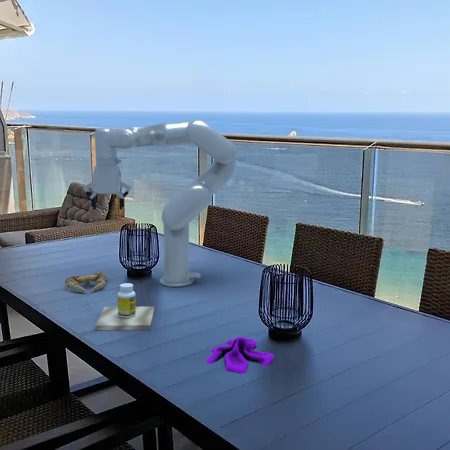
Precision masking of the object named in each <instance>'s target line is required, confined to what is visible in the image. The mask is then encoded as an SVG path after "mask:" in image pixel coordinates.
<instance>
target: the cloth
mask: <svg viewBox="0 0 450 450" xmlns="http://www.w3.org/2000/svg"><path fill="white" fill-rule="evenodd" d="M257 343H258V341H257V340H255V339H253V338H246V337H244V336H238V337H236V338H231V339H228V340H227V341H226V342H225V344H226V345H223V344H222V345H220V346H217V347H215V348H212V349H210V351H209V353H212V354H211V356H209V357H207V359H206V361H205V364H208V365H211V364H214V363H216V362H217V361H218V359H219V358H220V357H223V356H224V357H223V358H224V361H225V368H224V370H225V372H232V373H238V374H241V375H242V374H247V369H248V367H249V361H248V360H252V361H256V362H257V363H259V364H260V365H261V366H262V367H267V366H269V365H270V364H271V363H272V361H273V360H274V358H275V354H273V353H270V352H262V351H260V350H259V351H258V350H254V348H255V347H257Z"/></svg>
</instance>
